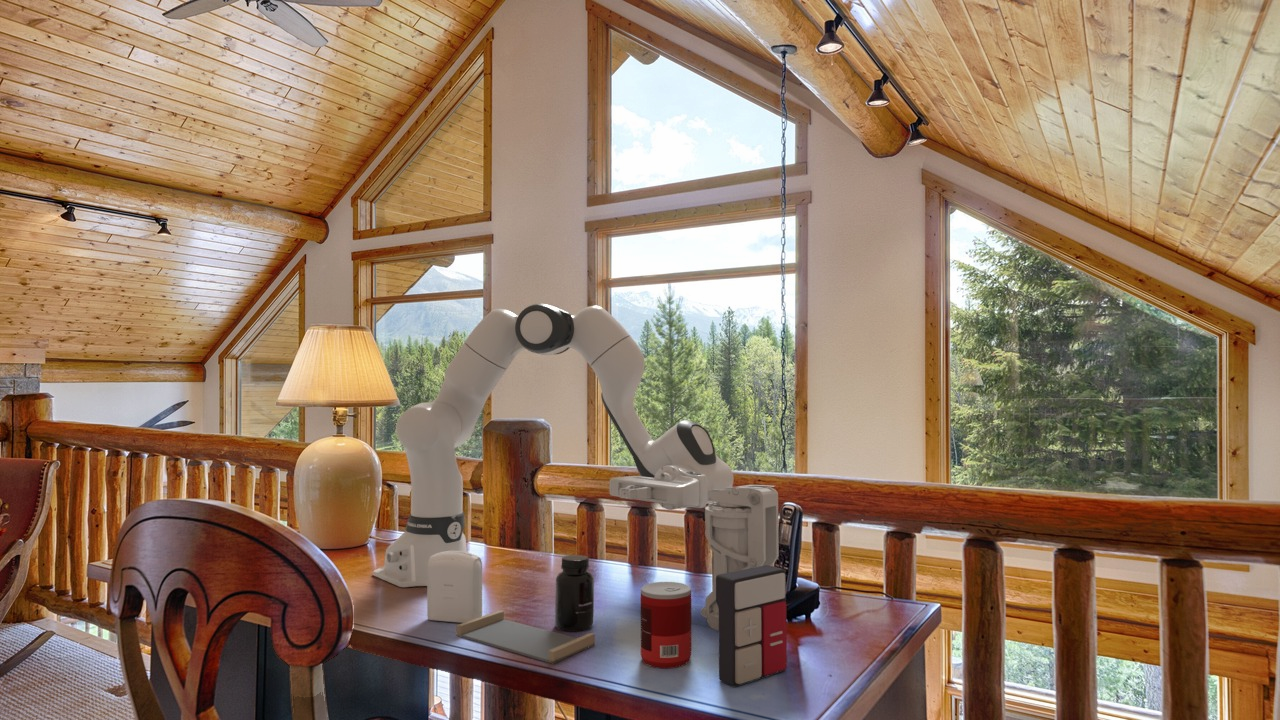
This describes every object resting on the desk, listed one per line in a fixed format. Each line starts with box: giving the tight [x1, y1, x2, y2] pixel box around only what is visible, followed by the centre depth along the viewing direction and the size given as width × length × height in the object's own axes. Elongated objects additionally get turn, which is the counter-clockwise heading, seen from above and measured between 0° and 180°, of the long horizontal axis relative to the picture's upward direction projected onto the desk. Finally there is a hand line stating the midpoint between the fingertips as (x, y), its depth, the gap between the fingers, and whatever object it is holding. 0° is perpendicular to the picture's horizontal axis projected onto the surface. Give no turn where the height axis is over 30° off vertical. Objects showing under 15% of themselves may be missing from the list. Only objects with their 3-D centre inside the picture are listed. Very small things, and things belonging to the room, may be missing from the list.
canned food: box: [640, 581, 692, 669], centre depth 113 cm, size 8×8×11 cm
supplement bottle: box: [554, 554, 595, 632], centre depth 129 cm, size 7×7×12 cm
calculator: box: [716, 565, 788, 688], centre depth 107 cm, size 11×4×15 cm, turn 126°
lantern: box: [700, 484, 780, 632], centre depth 130 cm, size 13×10×25 cm
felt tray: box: [456, 609, 596, 665], centre depth 122 cm, size 22×10×2 cm, turn 55°
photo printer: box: [426, 551, 483, 624], centre depth 133 cm, size 10×4×12 cm, turn 74°
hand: (624, 494), depth 138 cm, fingers closed
